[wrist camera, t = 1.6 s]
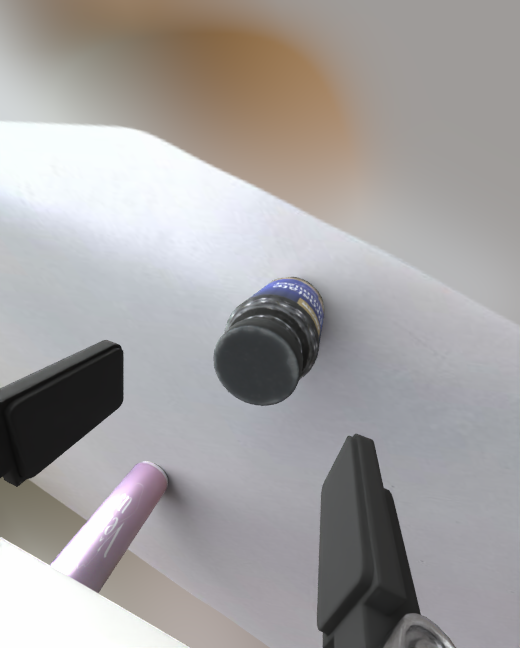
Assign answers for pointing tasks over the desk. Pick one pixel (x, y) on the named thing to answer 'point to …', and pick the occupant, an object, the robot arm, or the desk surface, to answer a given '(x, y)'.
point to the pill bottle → (270, 342)
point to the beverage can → (112, 527)
